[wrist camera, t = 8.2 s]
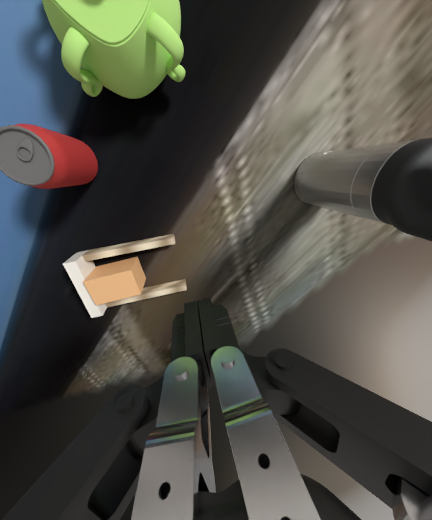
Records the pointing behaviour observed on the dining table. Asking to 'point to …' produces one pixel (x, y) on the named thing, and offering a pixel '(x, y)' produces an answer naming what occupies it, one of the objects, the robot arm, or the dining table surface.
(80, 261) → the stop block
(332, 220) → the dining table surface
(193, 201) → the dining table surface
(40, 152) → the beer can
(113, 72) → the green sugar bowl
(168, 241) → the guide lane
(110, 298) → the block
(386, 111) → the dining table surface
